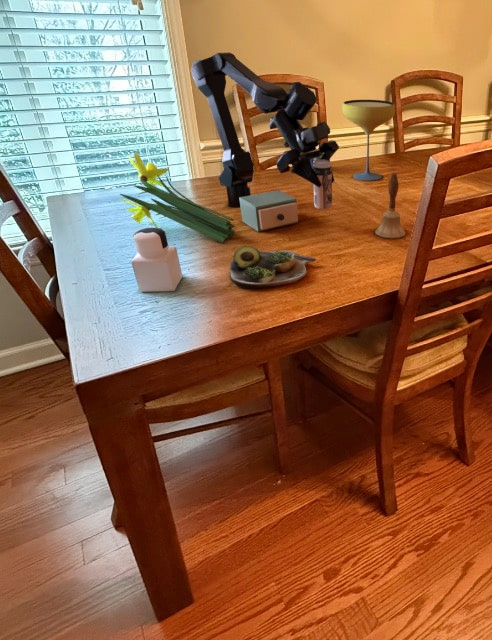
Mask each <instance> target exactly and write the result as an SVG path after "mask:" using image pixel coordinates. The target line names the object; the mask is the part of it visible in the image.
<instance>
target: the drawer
mask: <svg viewBox="0 0 492 640" xmlns="http://www.w3.org/2000/svg"><path fill="white" fill-rule="evenodd" d="M298 212H299V211H298V202H297V203H295V202H293V203H291V202H290V203H285V204H280V205H275V206H270V207H265V208H261V209H258V214H259V223H260V229H262V230H263V229H268V228H272V227H276V226H280V225H285V224H289V223H293V222H297V221H298V222H299V214H298Z"/></svg>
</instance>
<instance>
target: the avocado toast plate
mask: <svg viewBox="0 0 492 640" xmlns="http://www.w3.org/2000/svg"><path fill="white" fill-rule="evenodd" d="M316 261H317V257H311V256H305V255H300V254H299V253H297V252H294V251H291V250H275V251H260V250H258V249H257V248H255V247H254V246H250V245H244V246H240V247H239V248H237V249H236V250H235V251H234V254H233V256H232V260H231V261H230V265H229V269H230V275H229V278H230V281H231V282H232V283H233V284H235V285H236V286H238V287H240V288H242V289H264V288H273V287H279V286H284V285H288V284H294V283H296V282H298V281H300V280H301V279H303V278H304V277H305V276H306V275H307V268H306V265H307V264H309V263H313V262H316Z"/></svg>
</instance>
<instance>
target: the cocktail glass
mask: <svg viewBox="0 0 492 640" xmlns="http://www.w3.org/2000/svg"><path fill="white" fill-rule="evenodd" d="M395 111H396V104H395V103H394V102H393V101H389V100H380V99H351V100H345V101H344V102H343V103H342V114H343V116H344V117H345V118H346V119H347V120H348V121H349V122H351V123H352V124H355V125H356V126H358V127H360V129H362V130H363V132H364V133H365V135H367V139H366V141H367V142H366V143H367V144H366V165H365V166H366V167H365V171H364V172H363V171H362V172H358V173H357V172H356V173H354V174H353V175H352V178H353V179H354V180H357V181H361V182H375V181H379V180H381V179H383V175H382V174H379V173H376V172H371V171H370V135H372V134H373V132H374V131H375V129H376V128H378V127H380V126H383V124H385V123H388V122H389V121H390V120H391V119H393V117H394V116H395V113H396V112H395Z"/></svg>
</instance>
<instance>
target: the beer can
mask: <svg viewBox="0 0 492 640" xmlns="http://www.w3.org/2000/svg"><path fill="white" fill-rule="evenodd" d="M313 163H314V164H313V165H312V168H313V170H314V171H315V173H316V175H317V177H318V178H319V180H320V182H321V186H320V187H317V186H316V185H314V184H313V204H314V207H315V209H317V210H319V211H320V210H322V211H326V210H330V209H331V208H332V207H333V183H332V173H333V166H332V163H331V160H330V161H329V160H316V161H315V160H314V162H313Z"/></svg>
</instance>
